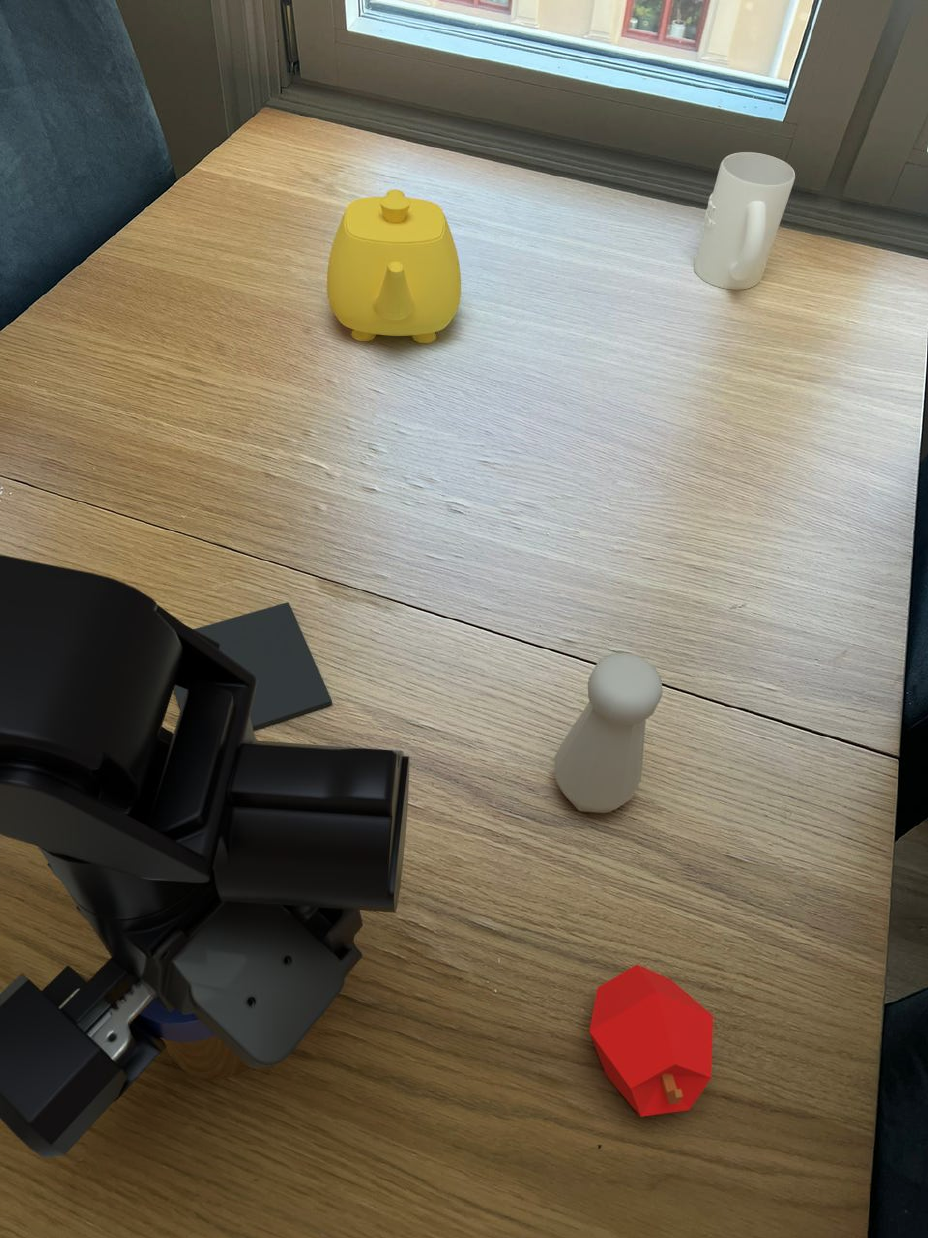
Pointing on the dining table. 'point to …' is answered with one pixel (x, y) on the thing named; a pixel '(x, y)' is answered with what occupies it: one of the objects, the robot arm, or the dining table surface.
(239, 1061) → the jam jar
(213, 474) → the dining table surface
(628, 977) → the apple
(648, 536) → the dining table surface
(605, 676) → the salt shaker
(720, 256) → the mug
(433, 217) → the teapot
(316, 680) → the mat
